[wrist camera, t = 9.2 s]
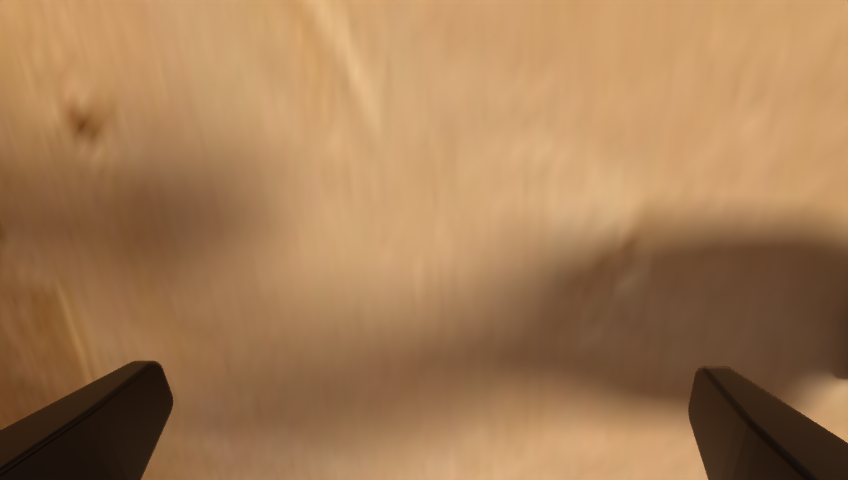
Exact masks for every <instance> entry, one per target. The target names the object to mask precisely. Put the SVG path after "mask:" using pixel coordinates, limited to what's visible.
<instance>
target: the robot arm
mask: <svg viewBox="0 0 848 480" xmlns="http://www.w3.org/2000/svg"><path fill="white" fill-rule="evenodd" d="M172 406H173V396H172V393H171V390H170V387H169V384H168V382H167V379H166V376H165V373H164V371H163V368H162V366H161V365H160V364H159V363H158V362H156V361H134V362H131V363H129V364H127V365H125V366H123V367H121V368H119V369H117V370H115V371H113V372H111V373H110V374H108V375H106V376H104V377H102V378H100V379H98V380H96V381H94V382H92V383H90V384H88V385H87V386H85V387H83V388H81V389H79V390H77V391H75V392H73V393H71V394H69V395H67V396H65V397H64V398H62V399H60V400H58V401H56V402H54V403H52V404H50V405H48V406H46V407H44V408H42V409H41V410H39V411H37V412H35V413H33V414H31V415H29V416H27V417H25V418H23V419H21V420H19V421H18V422H16V423H14V424H12V425H10V426H8V427H6V428H4V429H2V430H0V480H141V478H142V476H143V474H144V472H145V469H146V467H147V465H148V463H149V460H150V458H151V456H152V454H153V451H154V449H155V447H156V445H157V442H158V440H159V438H160V435H161V433H162V431H163V429H164V426H165V424H166V422H167V420H168V417H169V415H170V413H171V410H172ZM688 412H689V420H690V423H691V427H692V430H693V433H694V436H695V439H696V442H697V445H698V449H699V452H700V455H701V458H702V461H703V464H704V467H705V471H706V474H707V477H708V480H848V443H847V442H845V441H844V440H842V439H841V438H839V437H838V436H836V435H834V434H833V433H831V432H830V431H828V430H827V429H825V428H823V427H822V426H820V425H819V424H817V423H816V422H814V421H812V420H811V419H809V418H808V417H806V416H805V415H803V414H801V413H800V412H798V411H797V410H795V409H794V408H792V407H790V406H789V405H787V404H786V403H784V402H783V401H781V400H780V399H778V398H776V397H775V396H773V395H772V394H770V393H769V392H767V391H765V390H764V389H762V388H761V387H759V386H758V385H756V384H754V383H753V382H751V381H750V380H748V379H747V378H745V377H743V376H742V375H740V374H739V373H737V372H736V371H734V370H732V369H731V368H729V367H725V366H702V367H700V368H698V370H697V371H696V374H695V378H694V383H693V387H692V392H691V397H690V402H689V408H688Z"/></svg>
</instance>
